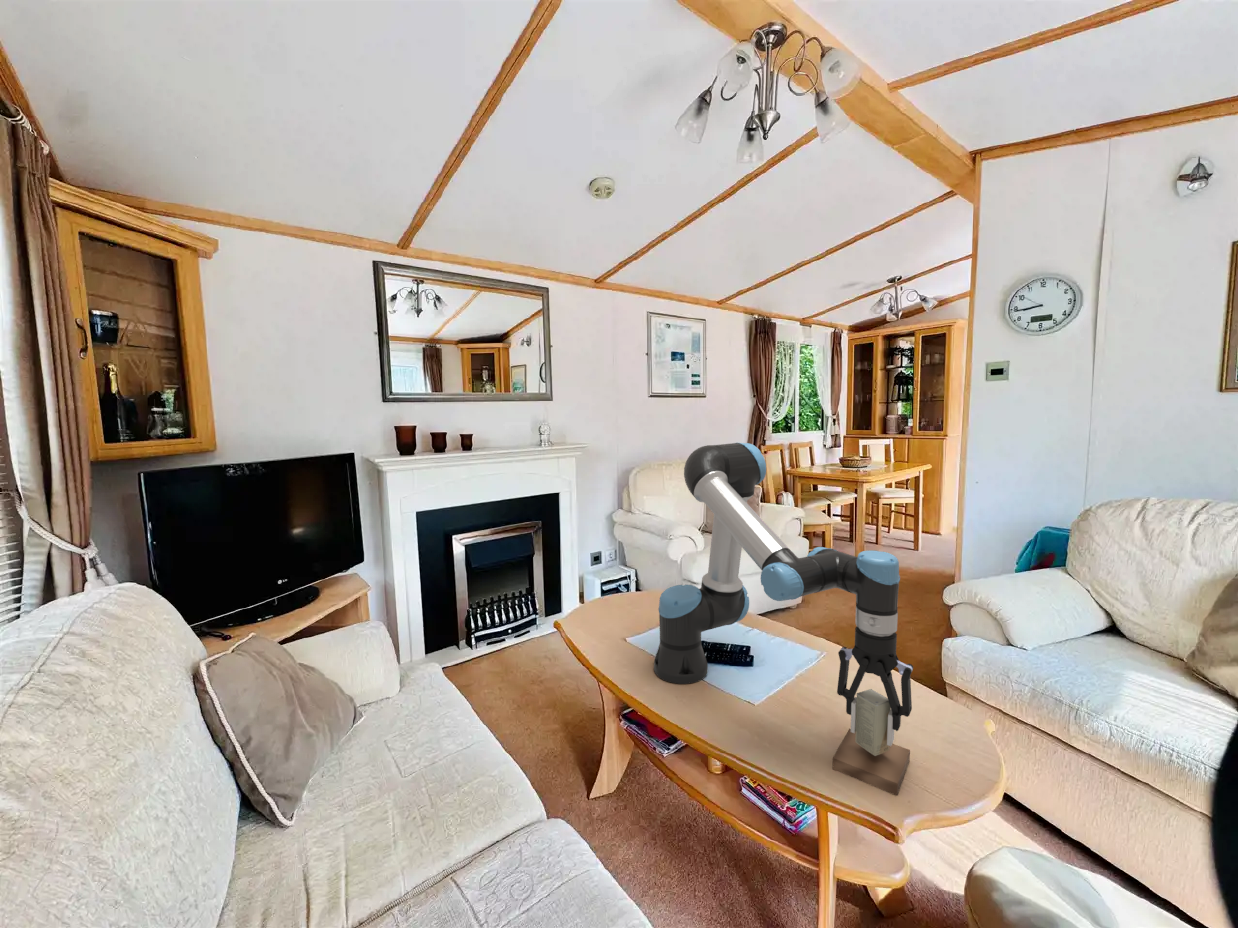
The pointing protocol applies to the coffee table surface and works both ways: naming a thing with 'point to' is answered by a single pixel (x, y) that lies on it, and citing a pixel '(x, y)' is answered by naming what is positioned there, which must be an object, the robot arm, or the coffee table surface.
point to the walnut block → (872, 764)
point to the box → (872, 721)
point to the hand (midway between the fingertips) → (872, 735)
